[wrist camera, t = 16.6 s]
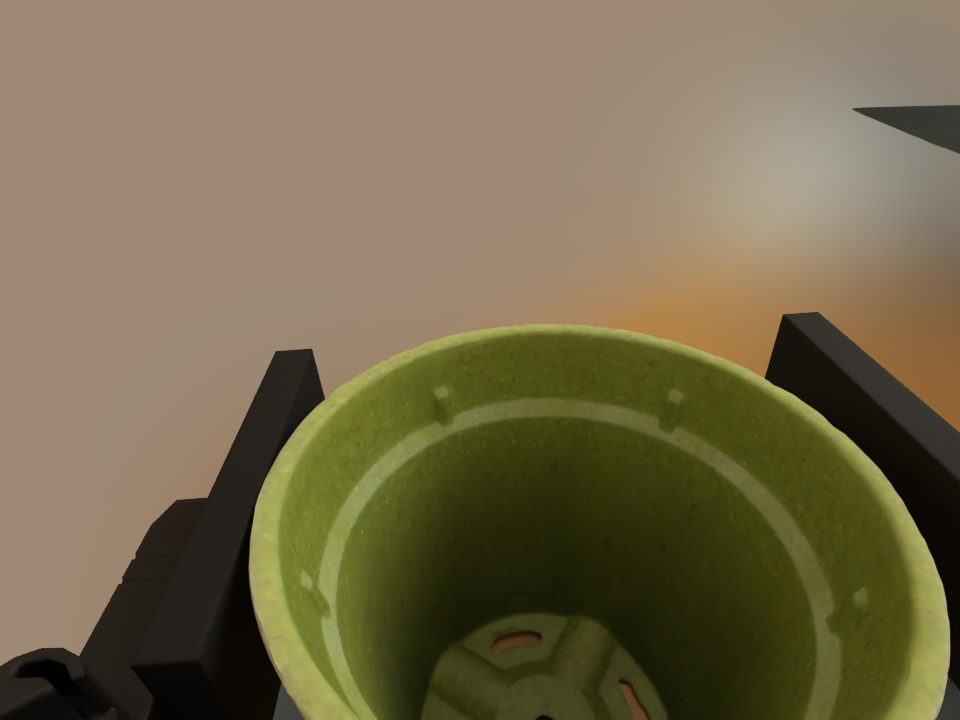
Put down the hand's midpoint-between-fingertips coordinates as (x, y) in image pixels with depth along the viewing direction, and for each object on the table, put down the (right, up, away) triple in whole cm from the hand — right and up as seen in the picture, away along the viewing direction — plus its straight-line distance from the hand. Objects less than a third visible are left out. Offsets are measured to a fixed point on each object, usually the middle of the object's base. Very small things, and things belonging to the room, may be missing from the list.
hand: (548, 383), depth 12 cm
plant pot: (0, -9, +1) cm, 9 cm away
